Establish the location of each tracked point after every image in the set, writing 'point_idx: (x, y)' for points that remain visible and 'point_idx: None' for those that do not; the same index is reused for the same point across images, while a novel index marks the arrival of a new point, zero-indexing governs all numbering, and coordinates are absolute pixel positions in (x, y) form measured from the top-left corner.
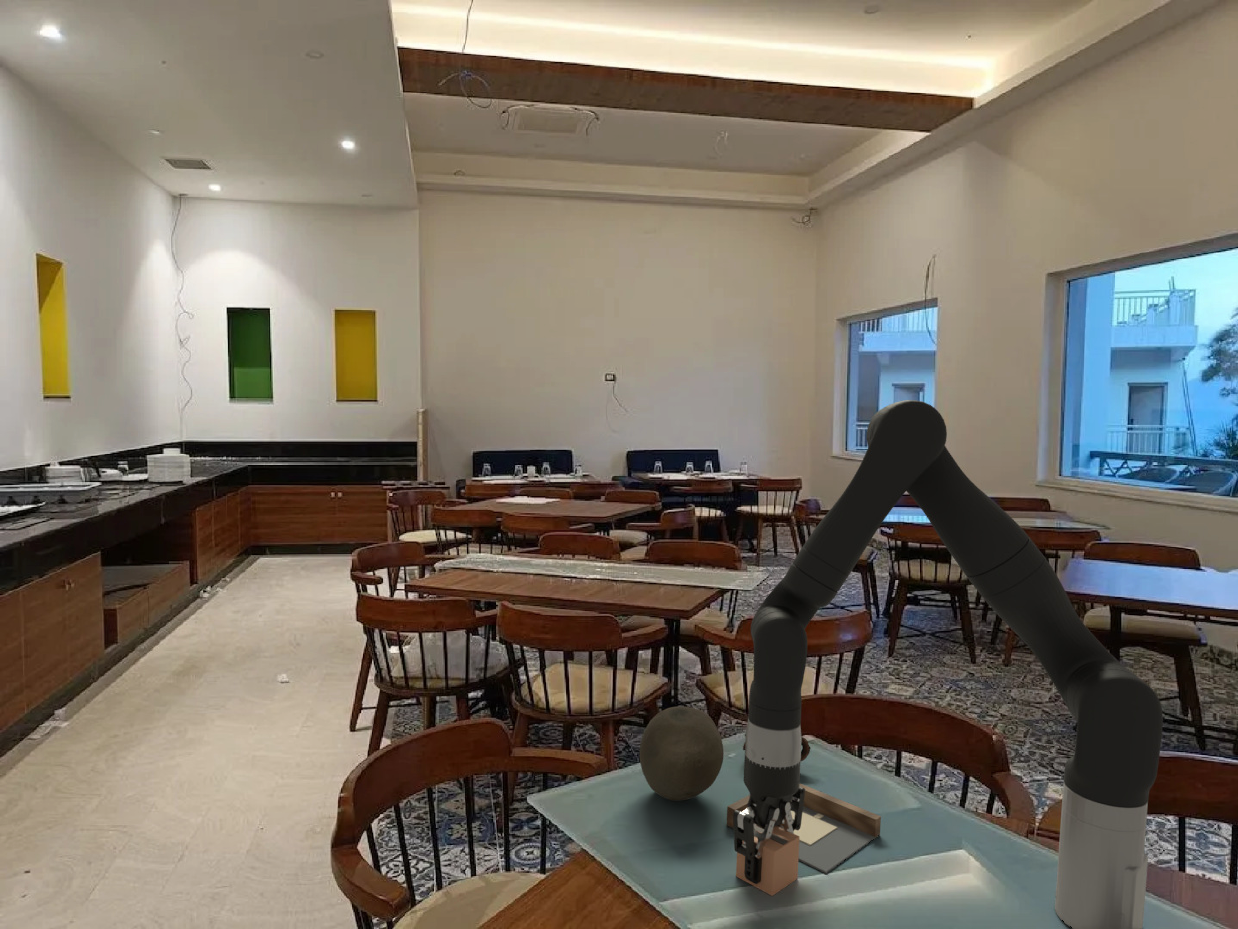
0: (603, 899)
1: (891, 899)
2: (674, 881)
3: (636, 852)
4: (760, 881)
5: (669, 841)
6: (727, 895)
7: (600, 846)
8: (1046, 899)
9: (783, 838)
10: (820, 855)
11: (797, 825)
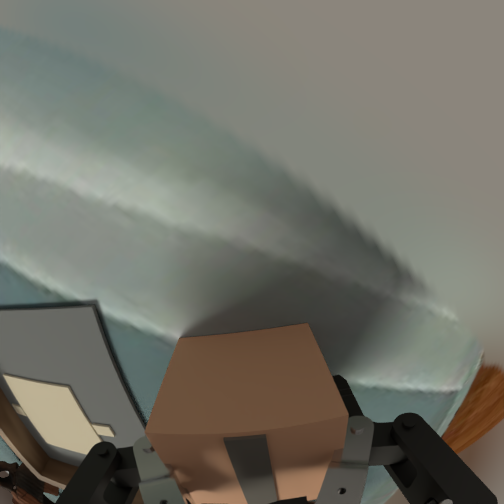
0: (480, 409)
1: (45, 131)
2: None
3: (370, 482)
4: None
5: None
6: (383, 370)
7: (387, 491)
8: None
9: (220, 455)
10: (66, 354)
11: (107, 457)
